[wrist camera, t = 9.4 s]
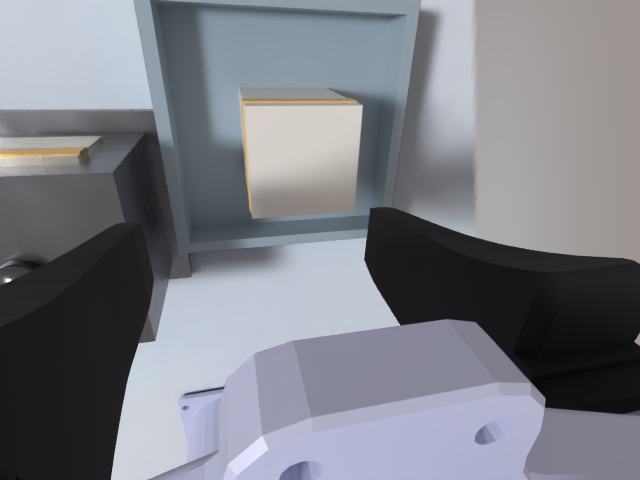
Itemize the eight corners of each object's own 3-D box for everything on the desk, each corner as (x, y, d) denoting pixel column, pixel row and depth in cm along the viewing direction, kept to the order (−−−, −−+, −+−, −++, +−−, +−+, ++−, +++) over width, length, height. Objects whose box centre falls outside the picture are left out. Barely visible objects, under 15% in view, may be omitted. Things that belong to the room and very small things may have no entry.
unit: (192, 272, 23) (180, 363, 17) (11, 290, 21) (-82, 402, 15) (164, 109, 18) (133, 147, 12) (-73, 110, 16) (-269, 157, 10)
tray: (373, 218, 24) (388, 235, 22) (183, 232, 22) (179, 253, 20) (398, 4, 19) (420, -1, 16) (142, -13, 16) (129, -21, 14)
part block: (323, 170, 21) (354, 212, 16) (243, 174, 20) (251, 220, 15) (326, 86, 19) (364, 104, 14) (237, 86, 18) (243, 104, 13)
